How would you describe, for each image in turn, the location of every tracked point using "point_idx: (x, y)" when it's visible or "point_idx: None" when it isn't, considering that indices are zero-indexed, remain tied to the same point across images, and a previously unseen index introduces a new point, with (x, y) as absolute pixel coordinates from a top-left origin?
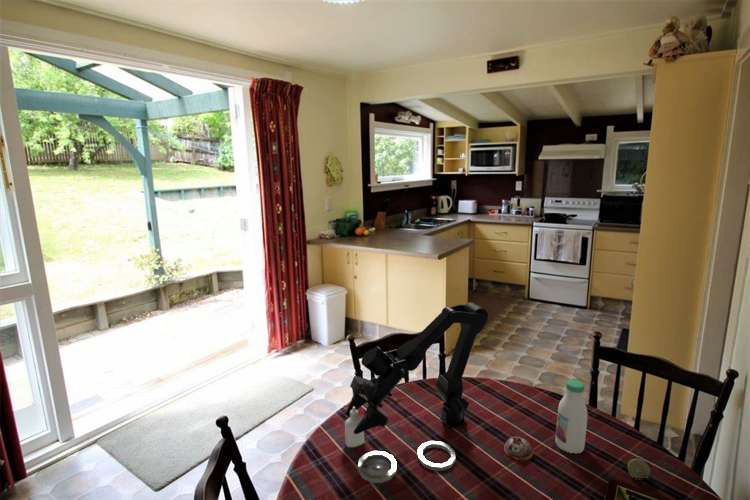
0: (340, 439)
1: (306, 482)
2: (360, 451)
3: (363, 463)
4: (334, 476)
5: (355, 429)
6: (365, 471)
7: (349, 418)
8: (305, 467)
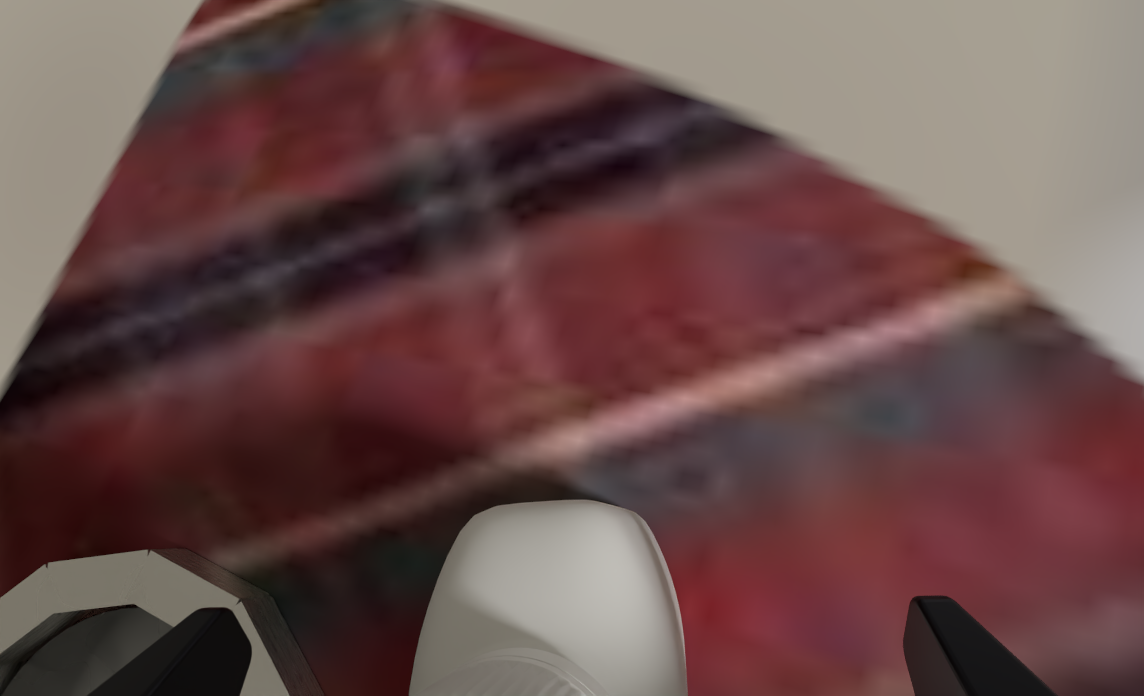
0: (737, 470)
1: (255, 88)
2: None
3: None
4: (217, 312)
5: (148, 662)
6: (118, 624)
7: (574, 630)
8: (422, 82)
